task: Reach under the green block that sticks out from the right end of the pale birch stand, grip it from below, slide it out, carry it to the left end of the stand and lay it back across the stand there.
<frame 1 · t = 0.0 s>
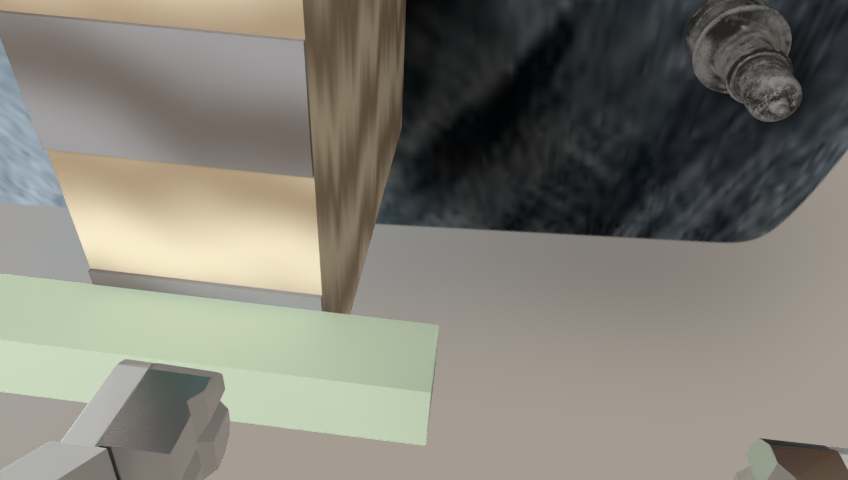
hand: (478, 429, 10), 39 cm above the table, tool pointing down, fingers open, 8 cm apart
salt shaker: (726, 29, 44), on the table
green block: (168, 320, 29), point 26 cm above the table, touching stand
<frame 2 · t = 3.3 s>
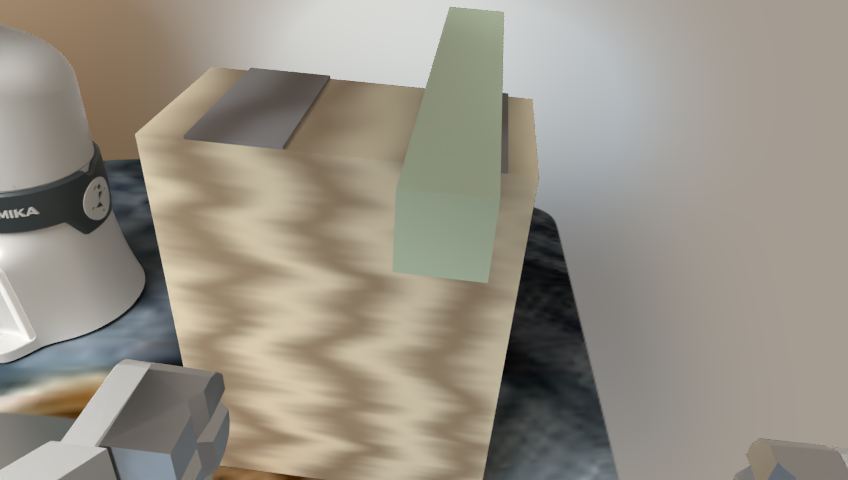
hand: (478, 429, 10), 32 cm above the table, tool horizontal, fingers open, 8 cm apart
green block: (460, 138, 33), point 26 cm above the table, touching stand
stand: (353, 426, 50), on the table
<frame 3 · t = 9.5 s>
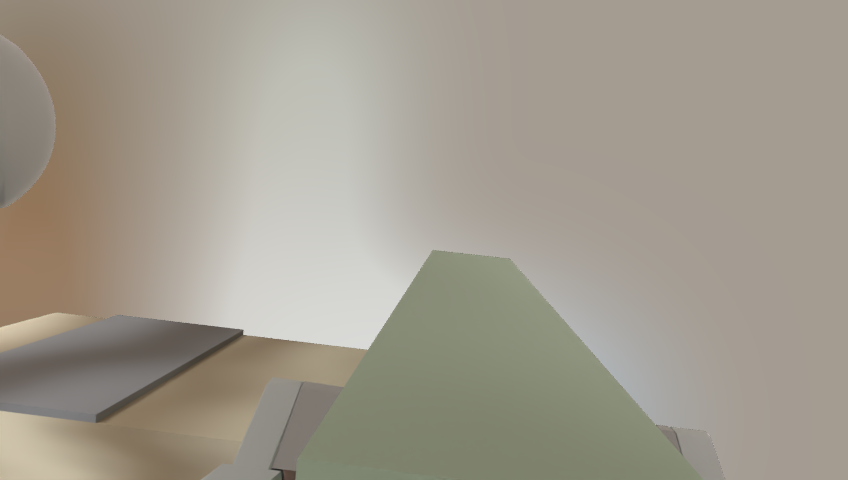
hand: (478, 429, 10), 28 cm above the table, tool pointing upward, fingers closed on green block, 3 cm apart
green block: (462, 417, 17), point 26 cm above the table, touching gripper, stand
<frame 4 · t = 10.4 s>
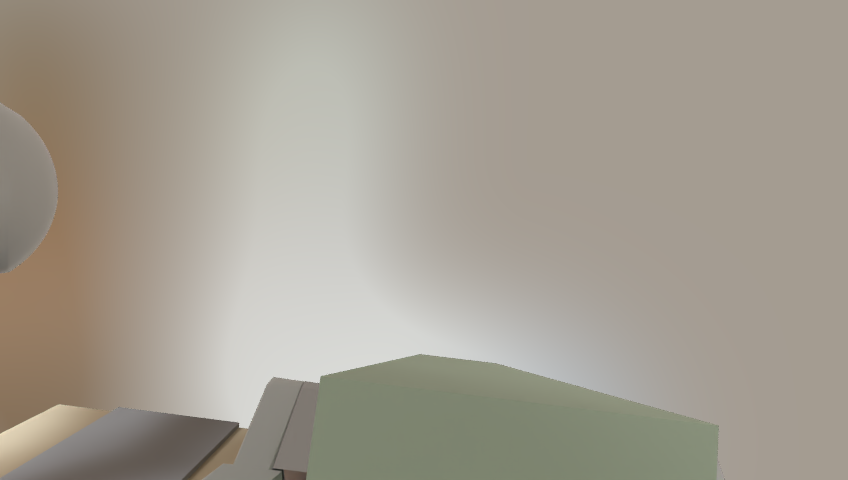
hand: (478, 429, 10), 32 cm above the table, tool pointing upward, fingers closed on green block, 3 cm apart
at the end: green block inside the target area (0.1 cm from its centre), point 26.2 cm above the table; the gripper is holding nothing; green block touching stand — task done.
